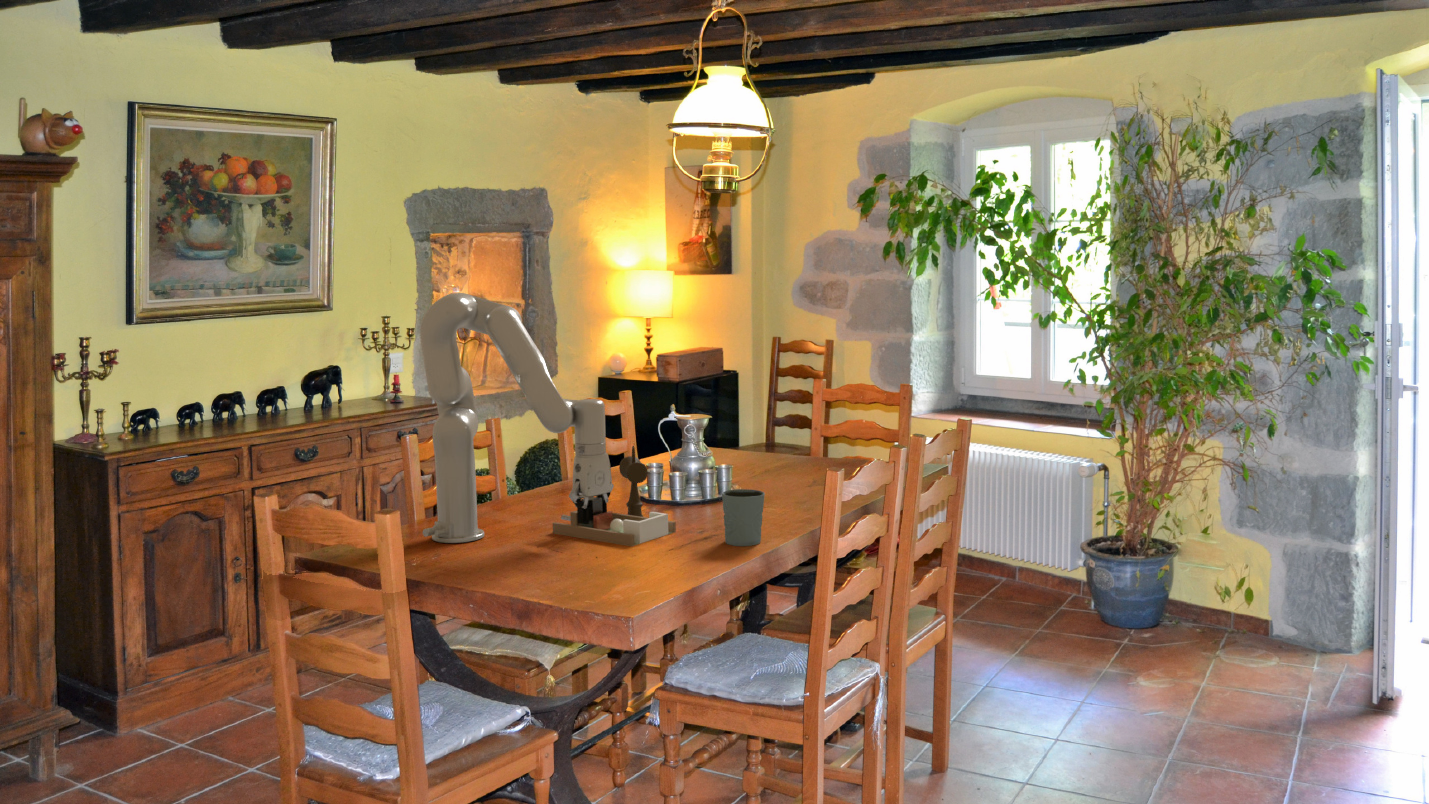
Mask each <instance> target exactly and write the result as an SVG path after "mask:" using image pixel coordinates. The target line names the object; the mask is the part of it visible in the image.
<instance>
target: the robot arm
mask: <svg viewBox="0 0 1429 804" xmlns="http://www.w3.org/2000/svg"><path fill="white" fill-rule="evenodd" d="M425 311H426V312H425V313H424V315H423V317H422V320H421V323H420V346H421V350H422V355H423V357H422V358H423V364H424V369H425V378H426V384H427V391H428V395H429V396H430V398H431V399H432V401H433V402H435V403H436V408H437V413H438V417H437V419H436V420H435V422H434V425H433V427H432V444H433V445H432V446H433V452H434V454H433V455H434V461H435V462H434V466H435V484H436V485H435V486H436V507H437V508H436V510H437V521H434V525H432V527H428V528H424V529H423V530H422V535H423V536H424V537H426V538H427V537H431V539H432V540H433V542H434V541H435V542H437V543H441V544H442V543H443V544H444V543H445V544H458V543H459V544H460V543H468V542H473V541H477V540H481V539H483V538H484V537H485V531H484V530H483V529H481V528H479V527H478V505H477V504H478V502H477V500H478V499H477V479H476V478H477V477H476V475H477V474H476V459H475V458H476V457H475V449H474V448H475V447H474V438H475V436H476V434H477V433H478V430H479V429H478V428H479V418H478V411H477V405H476V399H475V395H474V389H473V387H474V386H473V383H472V380H471V379H472V378H471V376H470V375H469V372H468V371H467V370H466V368H464V367H462V364H461V358H460V351H459V345H458V342H457V333H458V330H459V329H461V328H462V329H466V330H469V331H473V332H476V333H480V334H484V335H487V336H488V337H489V339H490V340H491V342H492V343H493V345H494V346H495V348H496V350H497V351H498V353H499V354H500V356H501V358H502V359H503V361H504V363H505V364H506V366H507V368H508V369H509V370H510V372H511V375H512V376H513V378H514V380H515V382H516V383H517V385H518V387H519V388H520V389H521V391H522V393H523V395H524V397H525V399H526V400H527V403H528V404H529V406H530V408H531V409H532V411H533V412H534V414H535V415H536V417H537V419H538V421H539V422H540V423H541V424H542V426H543V427H544V429H546V430H547V431H548V432H550V433H552V434H561V433H564V432H566V431H567V430H568V429H569V428H571V427H574V444H575V445H574V447H575V448H574V452H575V456H574V459H573V460H574V461H573V466H572V467H573V469H572V489H571V491H570V492H569V494H568V498H569V499H570V500H571V501H572V503H573V504H574V507H575V508H577V509H576V511H577V516H578V523H581V524H589V509H588V508H586V507H587V503H588V499H589V497H598V498H602V511H603V513H605V512H608V503H609V498H610V496H611V495H612V494H611V493H612V491H613V489H614V487H615V485H614V483H613V482H612V481H613V479H612V469H611V462H610V458H609V454H608V452H607V446H606V445H607V444H606V443H607V442H606V441H607V440H606V406H605V402H604V401H603V400H601V399H596V398H586V399H585V398H584V399H580V400H578V399H570V398H569V399H568V398H563V397H562V396H561V394H560V392H559V391H558V389H557V387H556V386H555V384H554V382H553V379H552V378H551V375H550V373H549V370H548V367H547V364H546V361H545V358H544V356H543V354H542V353H541V351H540V349H539V348H538V347H537V345H536V343H535V341H534V340H533V339H532V337H531V335H530V333H529V332H528V331H527V329H526V327H525V325H524V324H523V319H522V316H521V314H520V312H519V311H518V310H517V309H516V308H514V307H513V306H509V305H506V304H503V303H498V302H495V301H491V300H489V299H485V298H482V297H478V296H475V295H471V294H469V293H464V292H454V293H448V294H447V295H444V296H442V297H440V298H439V299H437V300H436V301H435V302H434V303H432V305H430V306H429V307H428V309H427V310H425ZM582 499H583V502H582Z"/></svg>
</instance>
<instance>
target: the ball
mask: <svg viewBox="0 0 1429 804" xmlns="http://www.w3.org/2000/svg"><path fill="white" fill-rule="evenodd" d="M610 528H611V530H612V531H614V532H622V531H623V521H622V520H621V519H614V520H613V521H612V522H611V524H610Z"/></svg>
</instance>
